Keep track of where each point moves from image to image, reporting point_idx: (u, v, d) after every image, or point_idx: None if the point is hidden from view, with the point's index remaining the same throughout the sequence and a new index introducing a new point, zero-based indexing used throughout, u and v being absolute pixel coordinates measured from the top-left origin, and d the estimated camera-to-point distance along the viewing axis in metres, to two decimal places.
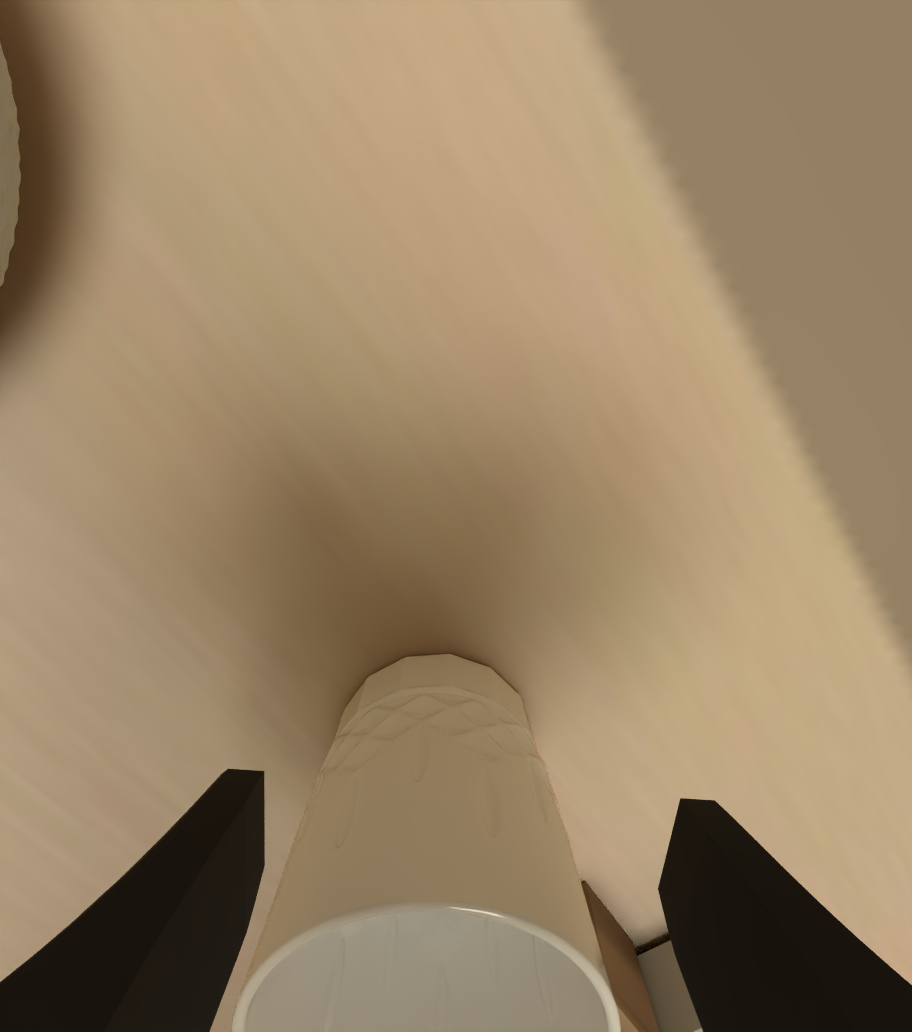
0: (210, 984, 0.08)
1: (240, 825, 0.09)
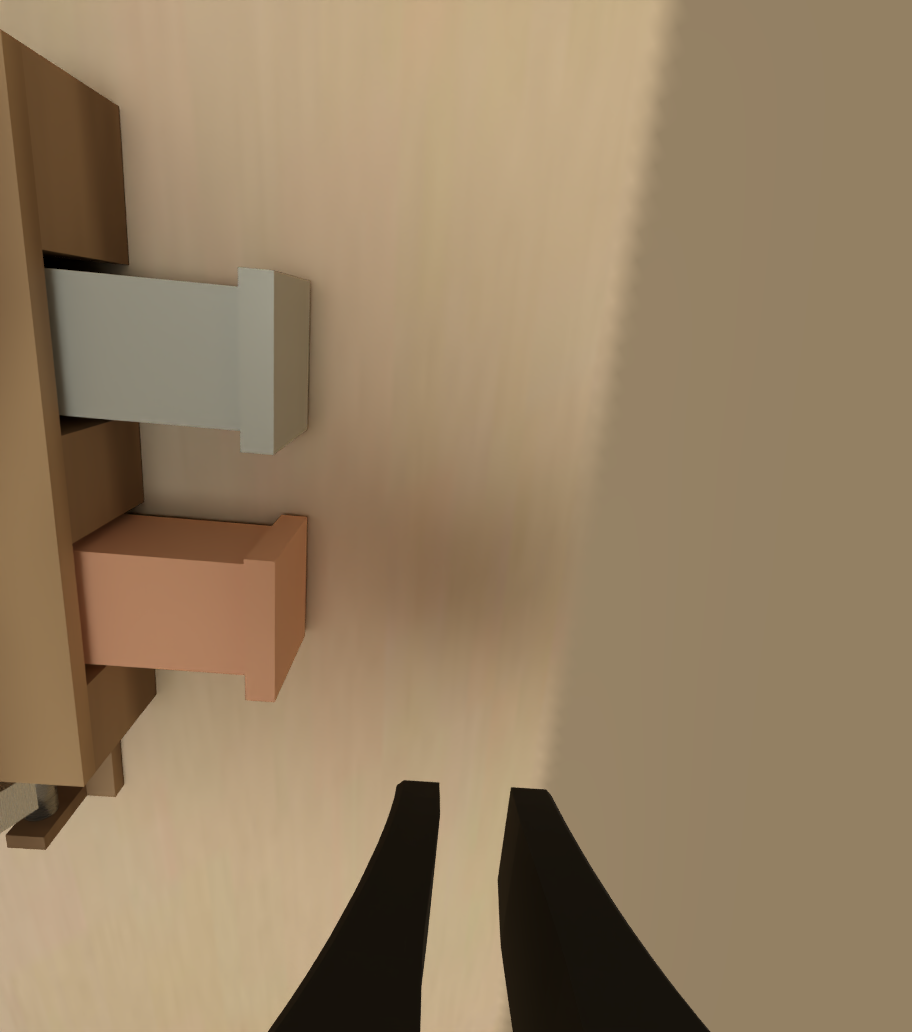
0: None
1: (437, 837, 0.09)
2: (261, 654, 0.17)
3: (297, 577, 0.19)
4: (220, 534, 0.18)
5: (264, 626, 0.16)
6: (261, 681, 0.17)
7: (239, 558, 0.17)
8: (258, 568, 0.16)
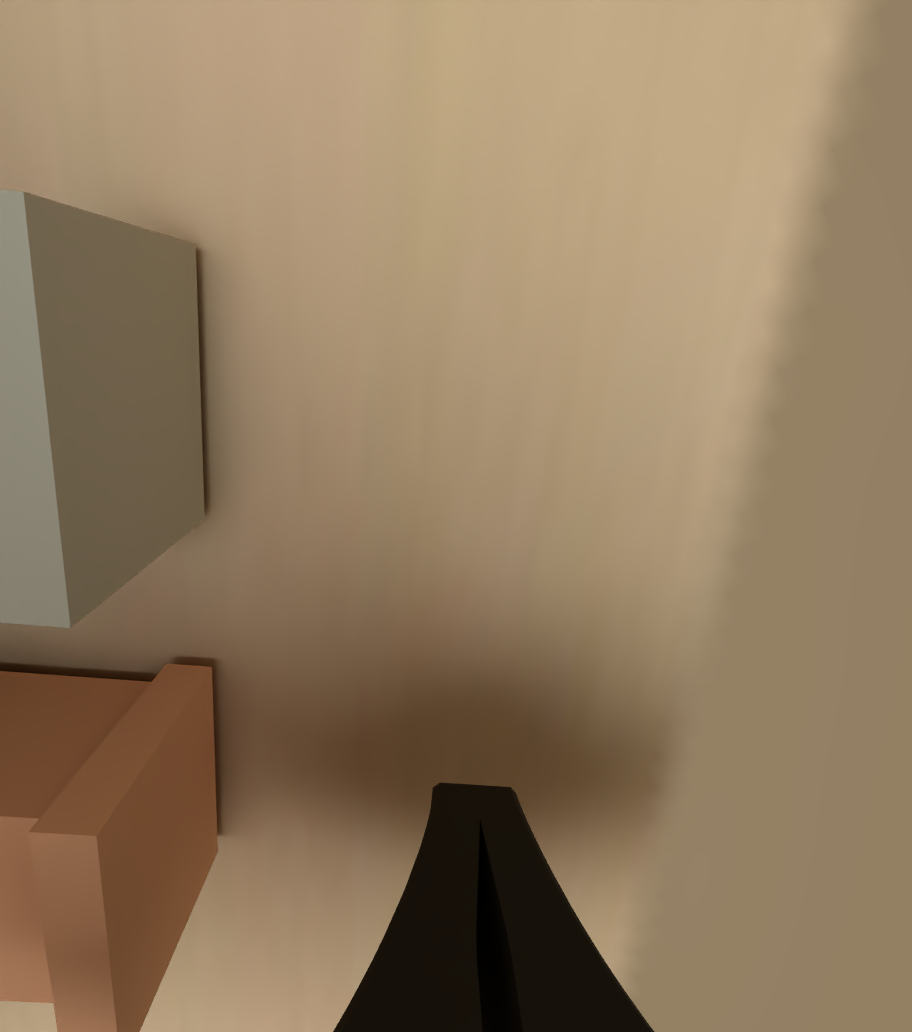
0: None
1: None
2: (86, 997, 0.08)
3: (187, 786, 0.10)
4: (42, 714, 0.10)
5: (86, 950, 0.08)
6: None
7: (46, 797, 0.08)
8: (62, 848, 0.07)
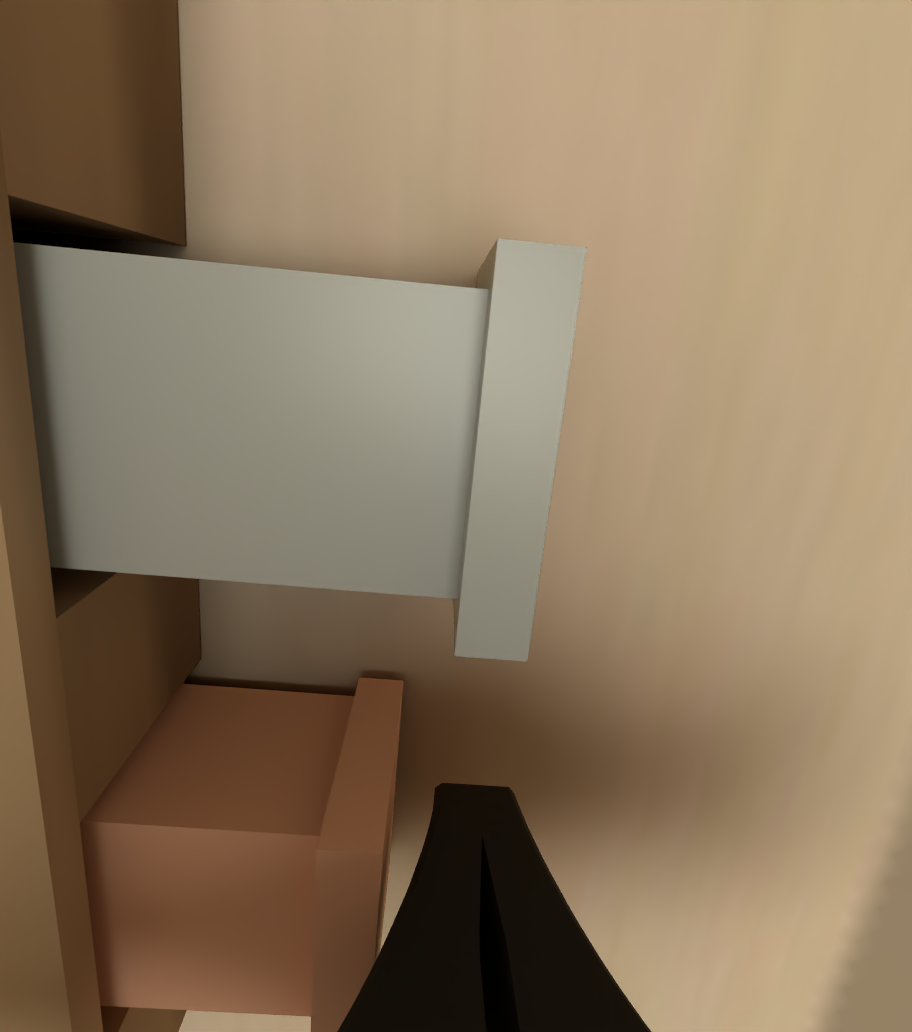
0: None
1: None
2: (344, 1010, 0.08)
3: (392, 800, 0.10)
4: (255, 729, 0.10)
5: (353, 965, 0.08)
6: None
7: (299, 813, 0.09)
8: (346, 865, 0.08)
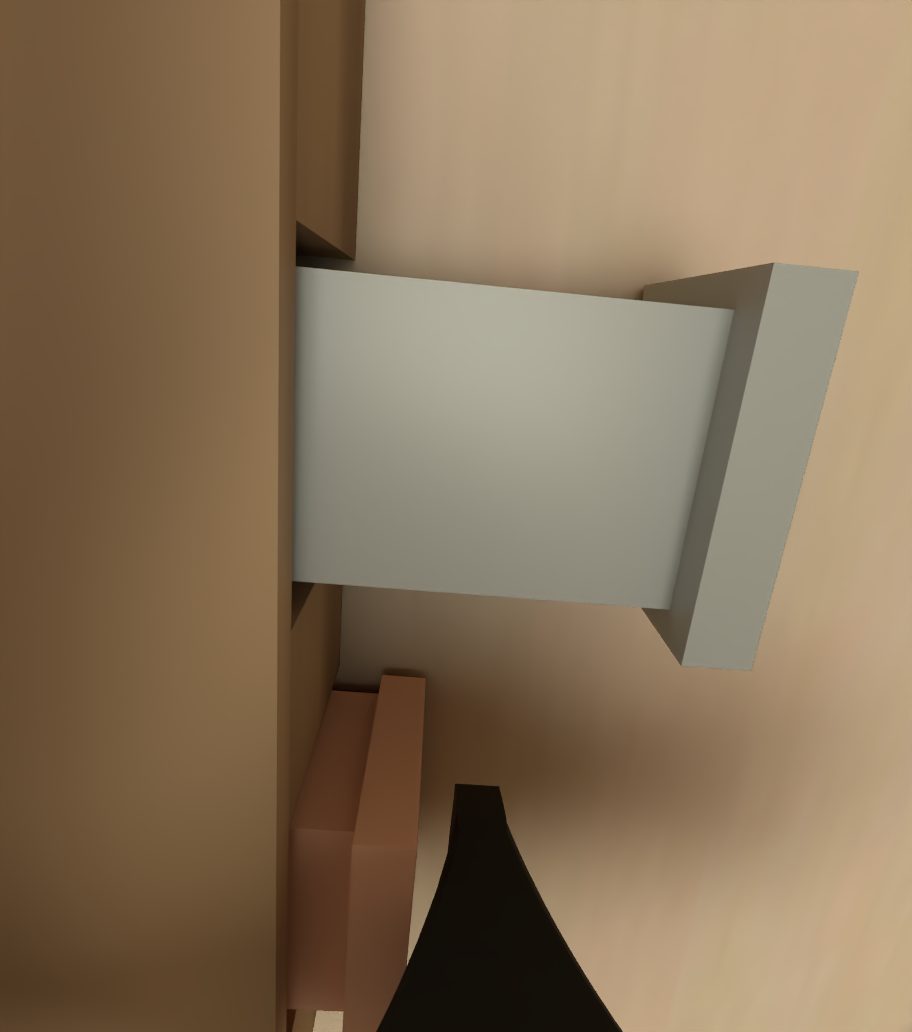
0: None
1: None
2: (376, 1004, 0.08)
3: None
4: None
5: (386, 959, 0.08)
6: None
7: (330, 809, 0.09)
8: (381, 860, 0.08)
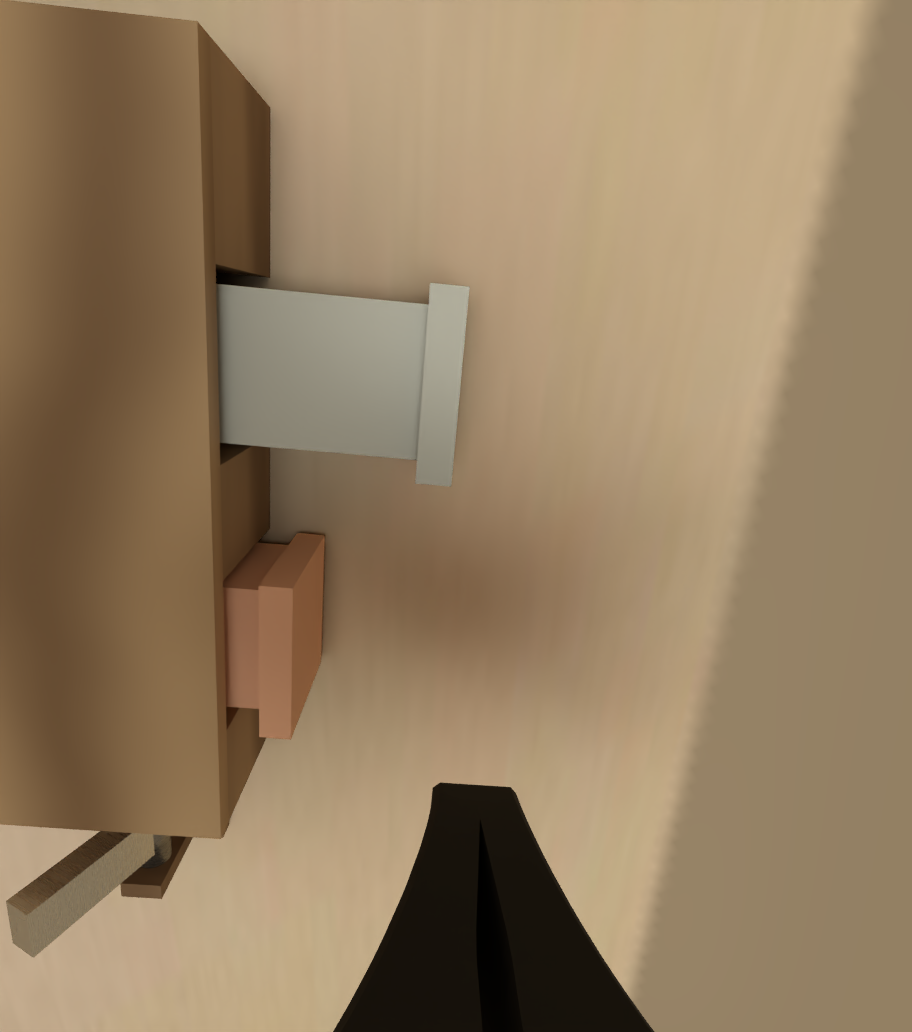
0: None
1: None
2: (277, 688, 0.15)
3: (314, 601, 0.17)
4: None
5: (280, 658, 0.15)
6: (277, 717, 0.15)
7: (253, 583, 0.15)
8: (274, 596, 0.14)
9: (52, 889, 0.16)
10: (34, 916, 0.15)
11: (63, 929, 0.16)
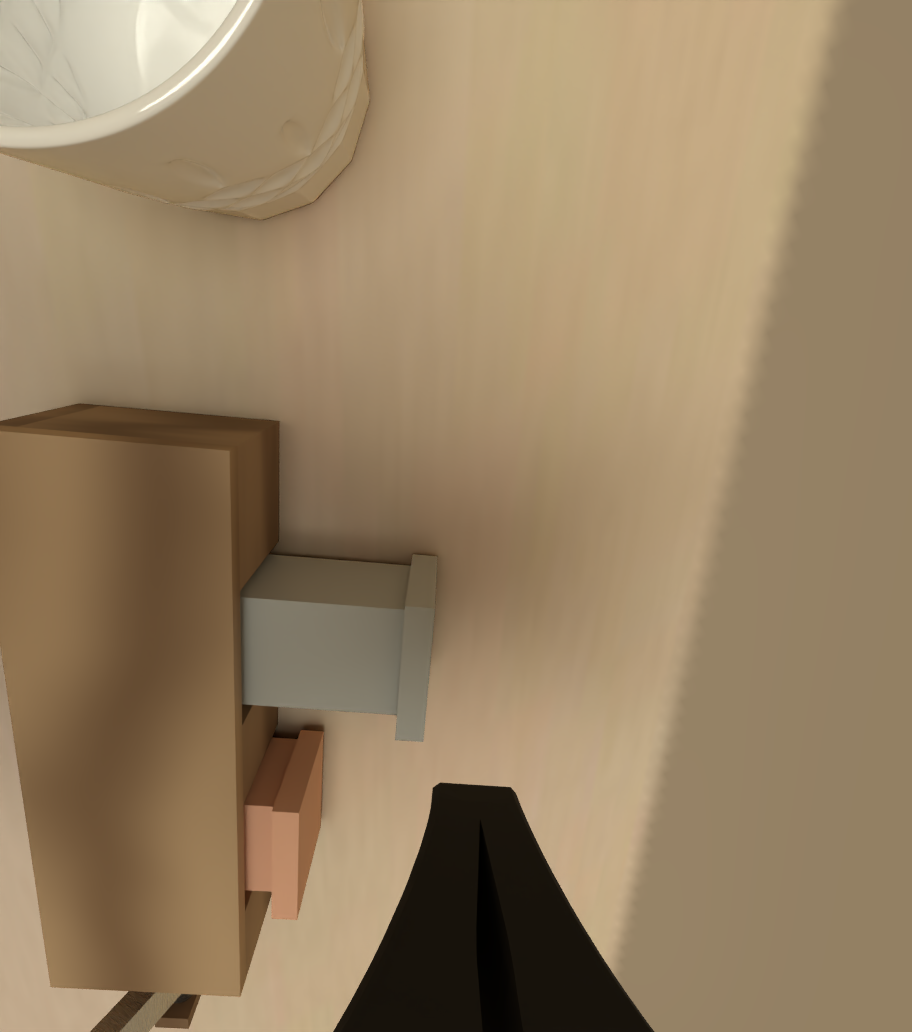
0: None
1: None
2: (286, 883, 0.19)
3: (315, 792, 0.21)
4: None
5: (289, 862, 0.19)
6: (286, 903, 0.19)
7: (266, 797, 0.19)
8: (284, 818, 0.18)
9: None
10: None
11: None
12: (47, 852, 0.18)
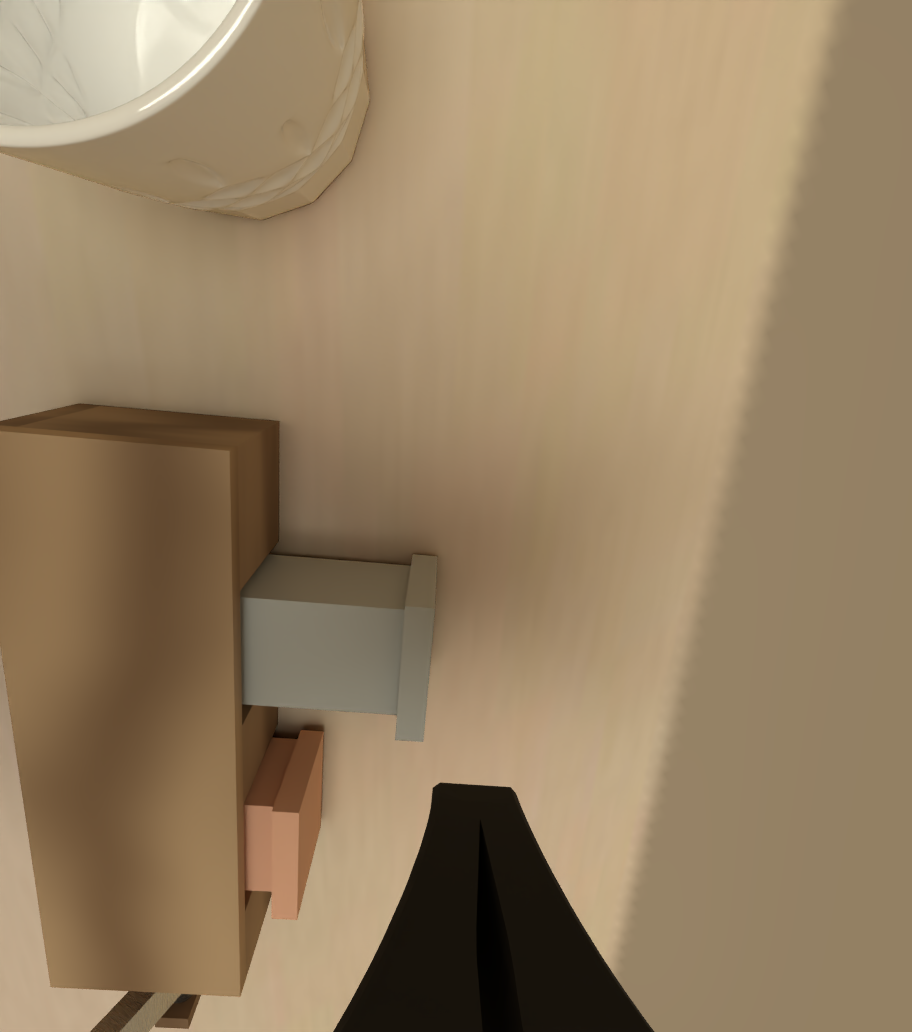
0: None
1: None
2: (286, 883, 0.19)
3: (315, 792, 0.21)
4: None
5: (289, 862, 0.19)
6: (286, 903, 0.19)
7: (266, 797, 0.19)
8: (284, 818, 0.18)
9: None
10: None
11: None
12: (47, 852, 0.18)
